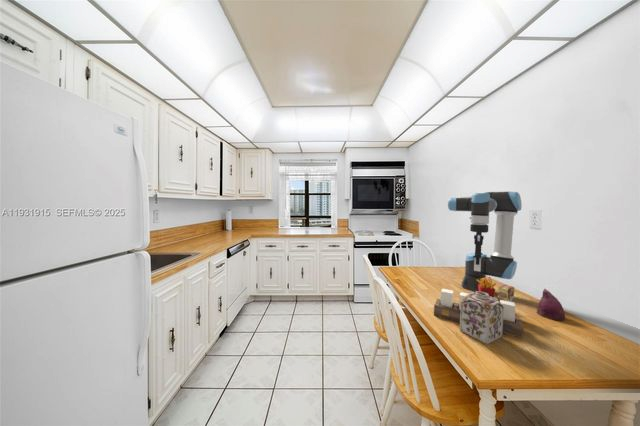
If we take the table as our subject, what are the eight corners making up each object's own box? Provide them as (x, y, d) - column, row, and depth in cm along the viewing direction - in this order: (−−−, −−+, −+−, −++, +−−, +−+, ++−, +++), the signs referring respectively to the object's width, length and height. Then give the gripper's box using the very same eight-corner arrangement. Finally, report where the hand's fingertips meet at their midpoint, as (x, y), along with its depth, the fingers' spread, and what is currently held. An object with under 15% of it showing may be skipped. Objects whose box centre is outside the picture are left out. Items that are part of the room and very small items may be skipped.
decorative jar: (458, 330, 105) (460, 290, 104) (473, 324, 111) (475, 286, 110) (488, 345, 95) (490, 301, 94) (503, 337, 100) (505, 295, 99)
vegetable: (538, 322, 121) (529, 293, 122) (538, 313, 129) (530, 285, 129) (567, 324, 114) (558, 293, 115) (565, 314, 122) (557, 285, 122)
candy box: (506, 320, 115) (507, 289, 115) (495, 317, 119) (497, 286, 118) (513, 316, 120) (514, 286, 119) (503, 313, 124) (504, 283, 123)
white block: (459, 305, 120) (460, 292, 119) (471, 308, 117) (472, 294, 117) (458, 309, 116) (459, 295, 115) (471, 312, 113) (471, 297, 112)
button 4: (499, 314, 111) (500, 299, 111) (513, 317, 108) (514, 302, 108) (500, 318, 107) (501, 303, 106) (514, 322, 104) (515, 306, 104)
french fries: (494, 307, 131) (496, 280, 130) (477, 304, 133) (478, 278, 133) (489, 301, 139) (490, 275, 138) (472, 299, 142) (474, 273, 141)
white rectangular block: (441, 301, 124) (442, 288, 124) (452, 304, 121) (453, 290, 121) (440, 305, 120) (441, 291, 120) (451, 307, 117) (452, 293, 117)
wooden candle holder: (436, 308, 128) (437, 298, 128) (519, 327, 109) (519, 316, 109) (433, 315, 119) (434, 305, 119) (522, 337, 100) (523, 326, 100)
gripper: (471, 222, 130) (469, 263, 131) (469, 224, 113) (467, 272, 114) (488, 223, 126) (485, 266, 127) (489, 226, 109) (486, 275, 110)
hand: (477, 269), depth 121 cm, fingers open, 8 cm apart
